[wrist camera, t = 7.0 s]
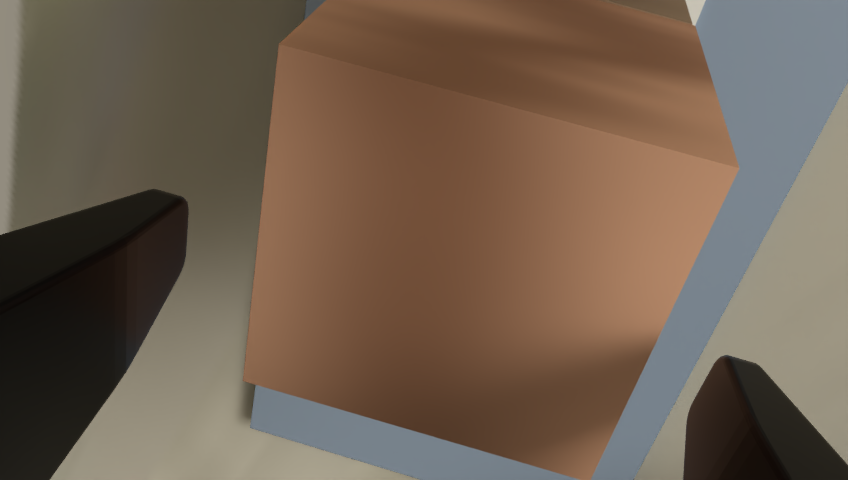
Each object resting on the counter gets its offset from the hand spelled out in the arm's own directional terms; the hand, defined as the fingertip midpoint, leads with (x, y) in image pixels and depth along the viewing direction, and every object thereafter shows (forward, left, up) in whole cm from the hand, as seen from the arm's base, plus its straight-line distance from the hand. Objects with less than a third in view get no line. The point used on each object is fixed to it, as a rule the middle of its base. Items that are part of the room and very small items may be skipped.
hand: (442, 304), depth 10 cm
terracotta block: (0, 0, -5) cm, 5 cm away
